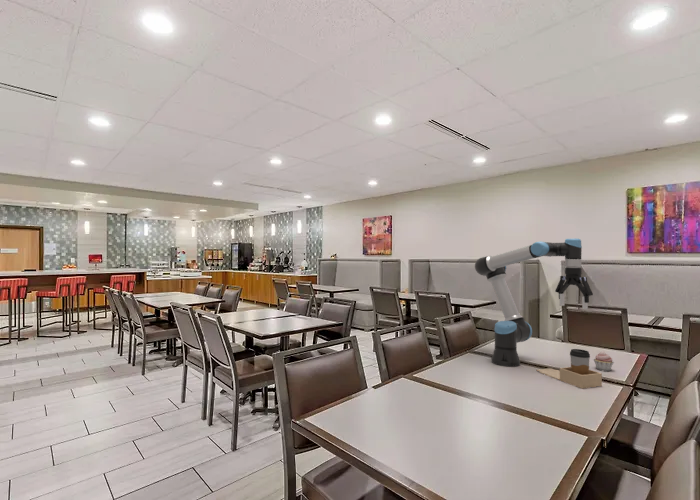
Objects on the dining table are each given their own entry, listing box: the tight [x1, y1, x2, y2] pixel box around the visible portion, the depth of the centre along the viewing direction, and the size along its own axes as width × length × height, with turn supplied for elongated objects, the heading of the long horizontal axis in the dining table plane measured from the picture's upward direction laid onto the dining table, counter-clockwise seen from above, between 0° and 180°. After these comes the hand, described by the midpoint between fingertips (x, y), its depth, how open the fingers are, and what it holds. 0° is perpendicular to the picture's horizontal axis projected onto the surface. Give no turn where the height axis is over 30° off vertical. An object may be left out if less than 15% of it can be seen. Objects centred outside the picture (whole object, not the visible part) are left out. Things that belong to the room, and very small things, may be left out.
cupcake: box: [592, 351, 615, 372], centre depth 198 cm, size 9×9×10 cm
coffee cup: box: [569, 348, 591, 375], centre depth 175 cm, size 8×8×15 cm
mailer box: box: [536, 366, 603, 390], centre depth 182 cm, size 28×12×6 cm, turn 18°
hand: (573, 307), depth 192 cm, fingers open, 13 cm apart
